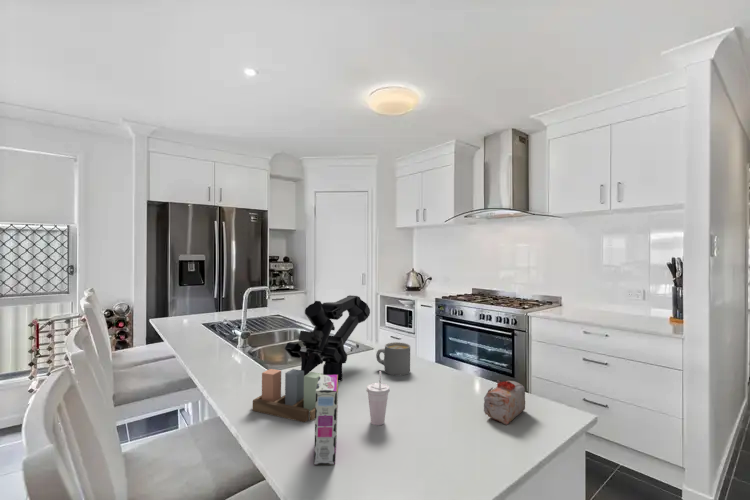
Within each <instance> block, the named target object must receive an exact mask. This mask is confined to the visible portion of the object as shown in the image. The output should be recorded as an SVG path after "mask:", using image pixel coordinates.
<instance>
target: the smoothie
mask: <svg viewBox="0 0 750 500" xmlns="http://www.w3.org/2000/svg"><path fill="white" fill-rule="evenodd" d="M378 373H379V376H378V382H373V383H369V384H368V385H366V393H367V395H368V396H367V397H368V398H367V399H368V407H369V415H370V416H369V417H370V423H371V425H374V426H381V425H384V424H385V421H386V420H385V419H386V413H387V405H388V399H389V393H390V385H388V384H386V383H383V382H382V371H381V370H379V371H378Z"/></svg>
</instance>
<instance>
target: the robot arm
mask: <svg viewBox="0 0 750 500" xmlns="http://www.w3.org/2000/svg"><path fill="white" fill-rule="evenodd" d="M344 312H348V316H347V318H346V319H345V321H344V322H343V323H342V324H341V326H340V327H339V328H338V330H337V331H336V333H335V334H334V335H330V334H331V332H332V331H335V330H336V327H335V325H334V322H333V320H334V321H337V320H339V319H341V318H342V317H343V314H344ZM304 314H305V316H306V317H307V319H308V321H309V322H310V324H311V325H312V326H313V327H314V328H313V330H312V331H307V330H300V333H299V337H298V340H297V341H299V342H302V345H303V346H301V345H300V343H299V342H293V341H288V342H287V343H286V345H284V346H285V347H284V350H285V352H287V353H288V355H289V356H290V357H291V358H297V359H301V364H300V365H301V366H300V370H302V371H304V376H305V375H307V374H308V373H310V372H313V370H314V369H315V368H316V367H318V366H319V365H323V366H322V374H323V375H338V382H339V381H340V382H342V381H343V364H346V362H347V360H348V354H347V352H346V350H345V346H344V345H345V343H347V341H348V339H349V337H350V336H351V335H352V333H354V331H355V330H356V328H357V326H358V325H359V324H360V323H363V322H365V321H366V320H367V319H368V318H369V316H370V314H371V308H370V307H369V304H368V303H366V302H365V301H363V300H362V299H361V297H360V296H358V295H351V294H349V295H347V296H346V297H343V298H342V299H339V300H337V301H335V302H332V301H331V302H330V301H329V302H323V303H322V301H321V300H314V302H313V303H311V304H309V305H308V306H307V307H305V310H304ZM323 363H324V364H323Z"/></svg>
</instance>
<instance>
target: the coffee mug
mask: <svg viewBox="0 0 750 500" xmlns="http://www.w3.org/2000/svg"><path fill="white" fill-rule="evenodd" d="M382 353H383V359H381V354H382ZM375 358H376V360H377V362H378V363H379V364H381V365H383V367H384V373H386V374H387V375H391V376H399V377H400V376H407V375H408V374H410V373H411V345H410V344H408V343H405V342H396V341H395V342H394V341H393V342H388V343H385V344H384V348H382V347H381V348H379V349H378V350H377V351H376V356H375Z"/></svg>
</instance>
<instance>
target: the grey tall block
mask: <svg viewBox="0 0 750 500" xmlns="http://www.w3.org/2000/svg"><path fill="white" fill-rule="evenodd" d="M284 374H285V375H284V377H285V378H284V379H285V380H284V381H285V382H284V383H285V384H284V386H285V387H284V395H285V404H286V405H291V406H293V405H294V404H296V403H297V402H299V401H300V400H302V399H303V398H304V371H302V370H301V369H294V368H292V369H290V370H288V371H287V372H285V373H284Z"/></svg>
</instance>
